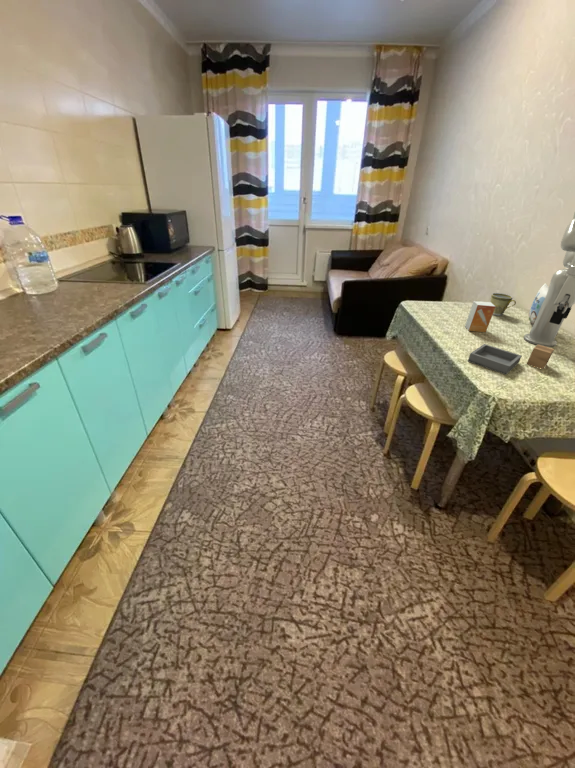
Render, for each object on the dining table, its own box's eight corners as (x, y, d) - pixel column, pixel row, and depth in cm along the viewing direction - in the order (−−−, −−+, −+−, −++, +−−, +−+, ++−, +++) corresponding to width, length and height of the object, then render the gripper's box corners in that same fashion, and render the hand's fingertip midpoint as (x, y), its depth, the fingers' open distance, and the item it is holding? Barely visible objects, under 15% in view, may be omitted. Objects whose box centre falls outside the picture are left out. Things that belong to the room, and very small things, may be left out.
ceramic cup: (481, 311, 183) (487, 294, 178) (492, 309, 187) (499, 292, 182) (503, 319, 173) (511, 301, 168) (515, 316, 178) (522, 298, 172)
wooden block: (530, 360, 133) (538, 344, 129) (546, 365, 129) (554, 349, 126) (526, 364, 130) (533, 348, 126) (542, 369, 126) (550, 353, 123)
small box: (468, 331, 158) (477, 304, 151) (464, 326, 163) (473, 300, 156) (486, 332, 157) (496, 306, 150) (481, 327, 162) (491, 302, 155)
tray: (481, 351, 138) (484, 343, 136) (518, 363, 130) (521, 355, 128) (467, 361, 130) (470, 353, 128) (505, 374, 121) (509, 366, 120)
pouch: (539, 323, 170) (557, 284, 160) (546, 335, 156) (566, 294, 145) (522, 320, 173) (538, 282, 163) (526, 332, 158) (545, 291, 148)
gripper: (573, 267, 118) (552, 312, 127) (561, 273, 108) (539, 322, 117) (599, 271, 114) (575, 318, 123) (589, 278, 104) (564, 329, 113)
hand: (557, 320), depth 120 cm, fingers open, 9 cm apart
